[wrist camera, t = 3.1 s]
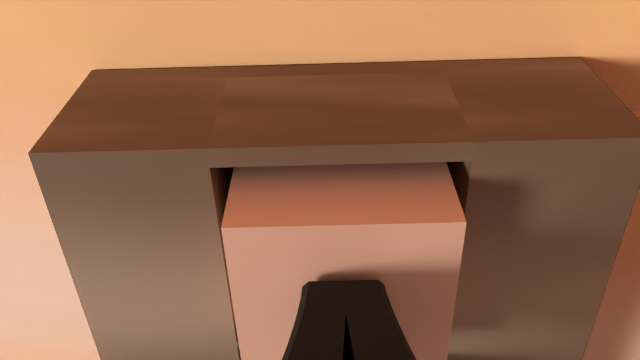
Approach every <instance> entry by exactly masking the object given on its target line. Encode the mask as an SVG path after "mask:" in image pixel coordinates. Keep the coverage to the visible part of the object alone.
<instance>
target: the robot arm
mask: <svg viewBox="0 0 640 360" xmlns="http://www.w3.org/2000/svg"><path fill="white" fill-rule="evenodd" d="M282 360H416V358H415V356H414V354H413V352H412V350H411V348H410V346H409V344H408V342H407V340H406V338H405V336H404V334H403V331H402V329H401V327H400V325H399V323H398V320H397V318H396V316H395V314H394V311H393V309H392V306H391V303H390V301H389V298H388V295H387V292H386V289H385V285H384V284H383V283H382V282H380V281H379V280H348V281H308V282H307V283H306V284H305V285H303V286H302V292H301V299H300V303H299V308H298V312H297V316H296V319H295V323H294V326H293V329H292V332H291V335H290V338H289V341H288V344H287V347H286V350H285V353H284V355H283V358H282Z"/></svg>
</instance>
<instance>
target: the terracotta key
mask: <svg viewBox="0 0 640 360" xmlns="http://www.w3.org/2000/svg"><path fill="white" fill-rule="evenodd" d="M466 223H467V222H466V219H465V216H464V213H463V210H462V207H461V204H460V201H459V198H458V195H457V192H456V189H455V186H454V183H453V181H452V178H451V175H450V172H449V169H448V166H447V163H446V162H421V163H381V164H341V165H301V166H261V167H234V169H233V174H232V178H231V183H230V188H229V192H228V197H227V202H226V207H225V211H224V216H223V221H222V226H221V231H222V238H223V245H224V251H225V258H226V264H227V271H228V277H229V284H230V291H231V297H232V304H233V310H234V317H235V323H236V330H237V337H238V343H239V350H240V356H241V360H282V358H283V355H284V353H285V350H286V347H287V344H288V341H289V338H290V335H291V332H292V329H293V326H294V323H295V319H296V316H297V312H298V308H299V303H300V299H301V292H302V286H303V285H305V284H306V283H307V282H308V281H348V280H379V281H380V282H382V283H383V284H384V285H385V289H386V292H387V295H388V298H389V301H390V303H391V306H392V309H393V311H394V314H395V316H396V318H397V320H398V323H399V325H400V327H401V329H402V331H403V334H404V336H405V338H406V340H407V342H408V344H409V346H410V348H411V350H412V352H413V354H414V356H415V358H416V360H447V357H448V350H449V343H450V336H451V329H452V322H453V315H454V308H455V301H456V294H457V287H458V280H459V272H460V265H461V258H462V251H463V244H464V237H465V230H466Z"/></svg>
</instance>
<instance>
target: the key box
mask: <svg viewBox="0 0 640 360" xmlns="http://www.w3.org/2000/svg"><path fill="white" fill-rule="evenodd" d="M28 154H29V157H30V160H31V162H32V165H33V168H34V171H35V174H36V177H37V179H38V182H39V185H40V188H41V191H42V194H43V196H44V199H45V202H46V205H47V208H48V211H49V214H50V216H51V219H52V222H53V225H54V228H55V231H56V233H57V236H58V239H59V242H60V245H61V248H62V250H63V253H64V256H65V259H66V262H67V265H68V267H69V270H70V273H71V276H72V279H73V282H74V285H75V287H76V290H77V293H78V296H79V299H80V302H81V304H82V307H83V310H84V313H85V316H86V319H87V321H88V324H89V327H90V330H91V333H92V336H93V338H94V341H95V344H96V347H97V350H98V353H99V356H100V358H101V360H241V356H240V350H239V343H238V337H237V330H236V323H235V317H234V310H233V304H232V297H231V291H230V284H229V277H228V271H227V264H226V258H225V251H224V245H223V238H222V231H221V226H222V221H223V216H224V211H225V207H226V202H227V197H228V192H229V188H230V183H231V178H232V174H233V169H234V167H261V166H301V165H341V164H381V163H421V162H446V163H447V166H448V169H449V172H450V175H451V178H452V181H453V183H454V186H455V189H456V192H457V195H458V198H459V201H460V204H461V207H462V210H463V213H464V216H465V219H466V222H467V223H466V230H465V237H464V244H463V251H462V258H461V265H460V272H459V280H458V287H457V294H456V301H455V308H454V315H453V322H452V329H451V336H450V343H449V350H448V357H447V360H582V357H583V354H584V351H585V348H586V345H587V342H588V339H589V336H590V333H591V330H592V327H593V324H594V321H595V318H596V315H597V312H598V309H599V306H600V303H601V300H602V297H603V294H604V291H605V288H606V285H607V282H608V279H609V276H610V273H611V270H612V267H613V264H614V261H615V258H616V255H617V252H618V249H619V246H620V243H621V240H622V237H623V234H624V231H625V228H626V225H627V222H628V219H629V216H630V213H631V210H632V207H633V204H634V201H635V198H636V195H637V192H638V189H639V186H640V120H639V119H638V118H637V117H636V116H635V115H634V114H633V113H632V112H631V111H630V109H629V108H628V107H627V106H626V105H625V104H624V103H623V102H622V101H621V100H620V99H619V98H618V97H617V96H616V95H615V94H614V93H613V92H612V91H611V89H610V88H609V87H608V86H607V85H606V84H605V83H604V82H603V81H602V80H601V79H600V78H599V77H598V76H597V75H596V74H595V73H594V72H593V71H592V69H591V68H590V67H589V66H588V65H587V64H586V63H585V62H584V61H583V60H582V59H581V58H580V57H568V58H530V59H493V60H455V61H418V62H381V63H343V64H306V65H268V66H231V67H193V68H156V69H118V70H92V71H91V72H90V74H89V75H88V76H87V77H86V79H85V80H84V81H83V83H82V84H81V85H80V87H79V88H78V89H77V90H76V92H75V93H74V94H73V96H72V97H71V98H70V100H69V101H68V102H67V103H66V105H65V106H64V107H63V109H62V110H61V111H60V113H59V114H58V115H57V116H56V118H55V119H54V120H53V122H52V123H51V124H50V126H49V127H48V128H47V129H46V131H45V132H44V133H43V135H42V136H41V137H40V139H39V140H38V141H37V142H36V144H35V145H34V146H33V148H32V149H31V150H30V152H29V153H28Z"/></svg>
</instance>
